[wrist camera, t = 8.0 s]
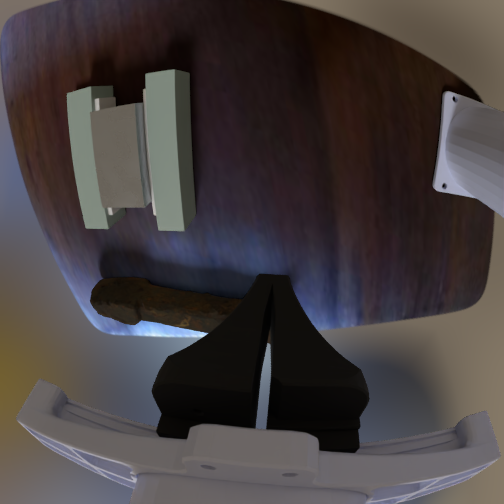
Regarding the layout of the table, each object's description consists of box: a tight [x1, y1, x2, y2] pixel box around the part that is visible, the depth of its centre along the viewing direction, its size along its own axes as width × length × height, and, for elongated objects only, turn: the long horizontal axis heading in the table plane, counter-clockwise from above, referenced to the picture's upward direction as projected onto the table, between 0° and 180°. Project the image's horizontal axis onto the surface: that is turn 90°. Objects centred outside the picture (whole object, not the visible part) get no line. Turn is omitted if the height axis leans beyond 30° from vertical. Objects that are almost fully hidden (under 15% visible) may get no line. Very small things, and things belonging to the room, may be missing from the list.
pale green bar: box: [67, 86, 126, 229], centre depth 19 cm, size 4×11×3 cm, turn 0°
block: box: [90, 103, 152, 208], centre depth 18 cm, size 4×7×4 cm, turn 0°
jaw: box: [143, 69, 196, 231], centre depth 18 cm, size 2×11×3 cm, turn 0°
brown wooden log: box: [90, 277, 271, 344], centre depth 25 cm, size 19×4×5 cm, turn 82°
